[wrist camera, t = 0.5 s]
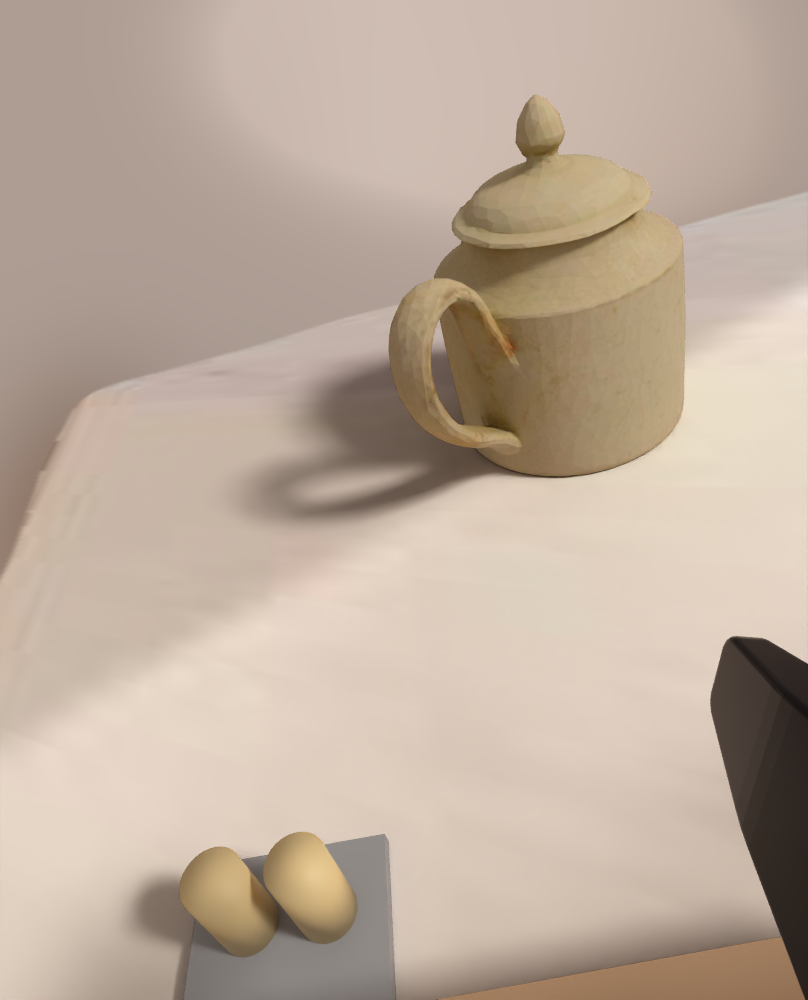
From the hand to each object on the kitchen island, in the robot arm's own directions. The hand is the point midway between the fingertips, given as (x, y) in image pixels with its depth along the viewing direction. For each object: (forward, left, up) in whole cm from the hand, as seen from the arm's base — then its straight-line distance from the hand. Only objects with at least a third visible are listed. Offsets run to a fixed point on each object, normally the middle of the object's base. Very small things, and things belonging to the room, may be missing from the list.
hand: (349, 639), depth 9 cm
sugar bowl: (+25, -7, -16) cm, 30 cm away
